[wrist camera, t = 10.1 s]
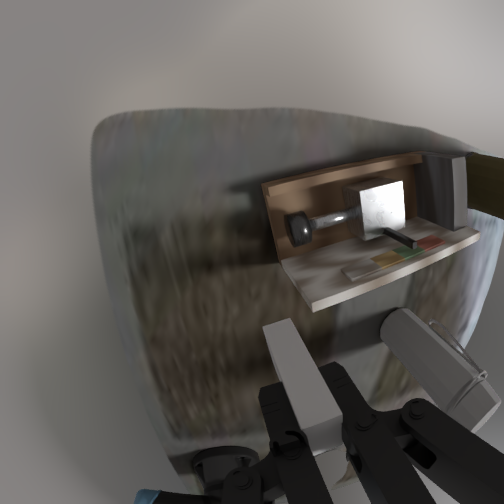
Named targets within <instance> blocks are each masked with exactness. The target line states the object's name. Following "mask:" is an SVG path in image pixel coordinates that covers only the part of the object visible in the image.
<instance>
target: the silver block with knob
mask: <svg viewBox="0 0 504 504" xmlns="http://www.w3.org/2000/svg"><path fill="white" fill-rule="evenodd" d="M342 189H343V195H344V202H345V209H342V210H339V211H335V212H331V213H328V214H324V215H321V216H317V217H313V218H310V219H308V217H307V216H306V214H305V212H304V211H302V210H300V211H296V212H293V213H289V214H285V215H284V224H285V229H286V233H287V236H288V238H289V241H290V243H291V245H292V246H293V247H294V248H295V247H299V246H302V245H305V244H309V243H311V242H312V231H316V230H319V229H323V228H326V227H329V226H333V225H336V224H339V223H343V222H346V221H347V223H348V231H349V232H351V233H353V234H355V235H356V236H358V237H360V238H361V239H363V240H365V241H367V240H370V239H373V238H376V237H379V236H382V235H387V236H389V237H391V238H393V239H394V240H396V241H398V242H400V243H402V244H404V245H406V246H407V247H409V248H411V249H415V248H417V241H415V240H413V239H411V238H409V237H407V236H405V235H403V234H401V233H399V232H397V231H396V230H399V229H402V228H405V211H404V197H403V186H402V181H399V180H394V179H390V178H385V177H380V178H375V179H371V180H366V181H362V182H358V183H354V184H349V185H345V186H342Z"/></svg>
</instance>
